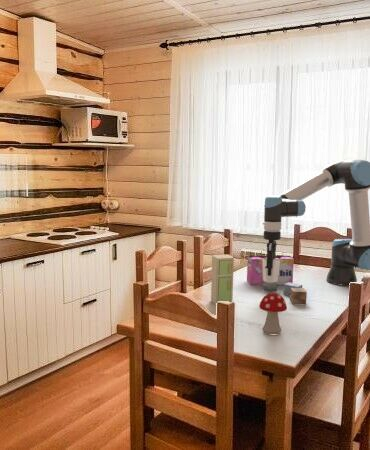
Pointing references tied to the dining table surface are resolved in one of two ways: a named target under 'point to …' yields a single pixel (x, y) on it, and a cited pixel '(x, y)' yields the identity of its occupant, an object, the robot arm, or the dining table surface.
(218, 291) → the toy refrigerator
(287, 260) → the gum box
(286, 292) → the slate blue block
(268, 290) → the grayish green cylinder
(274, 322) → the decorative mushroom
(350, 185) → the robot arm
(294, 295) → the walnut cube
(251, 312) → the dining table surface
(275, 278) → the white cup
